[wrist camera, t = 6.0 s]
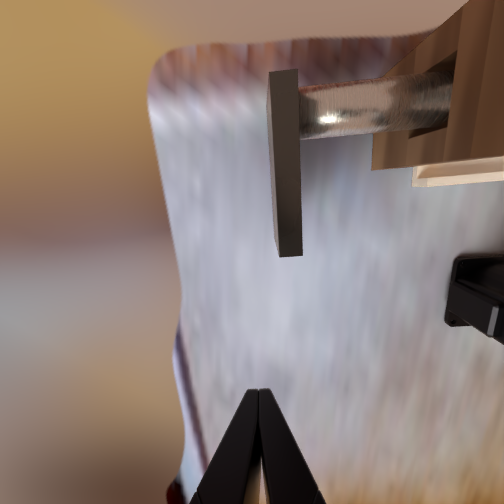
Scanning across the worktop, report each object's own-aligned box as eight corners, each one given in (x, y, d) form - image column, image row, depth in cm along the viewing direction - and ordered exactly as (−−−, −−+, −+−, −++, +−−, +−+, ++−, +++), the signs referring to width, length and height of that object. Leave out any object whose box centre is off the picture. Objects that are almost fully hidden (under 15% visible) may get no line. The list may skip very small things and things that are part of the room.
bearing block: (419, 77, 17) (592, -39, 8) (410, 166, 18) (546, 151, 10) (375, 82, 17) (499, -27, 8) (371, 170, 18) (469, 158, 10)
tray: (576, 34, 16) (616, 15, 14) (542, 175, 18) (572, 174, 16) (424, 52, 16) (444, 36, 14) (411, 186, 19) (426, 186, 17)
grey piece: (416, 89, 14) (486, 47, 9) (403, 228, 16) (455, 244, 12) (266, 105, 14) (269, 72, 10) (274, 238, 16) (279, 257, 12)
